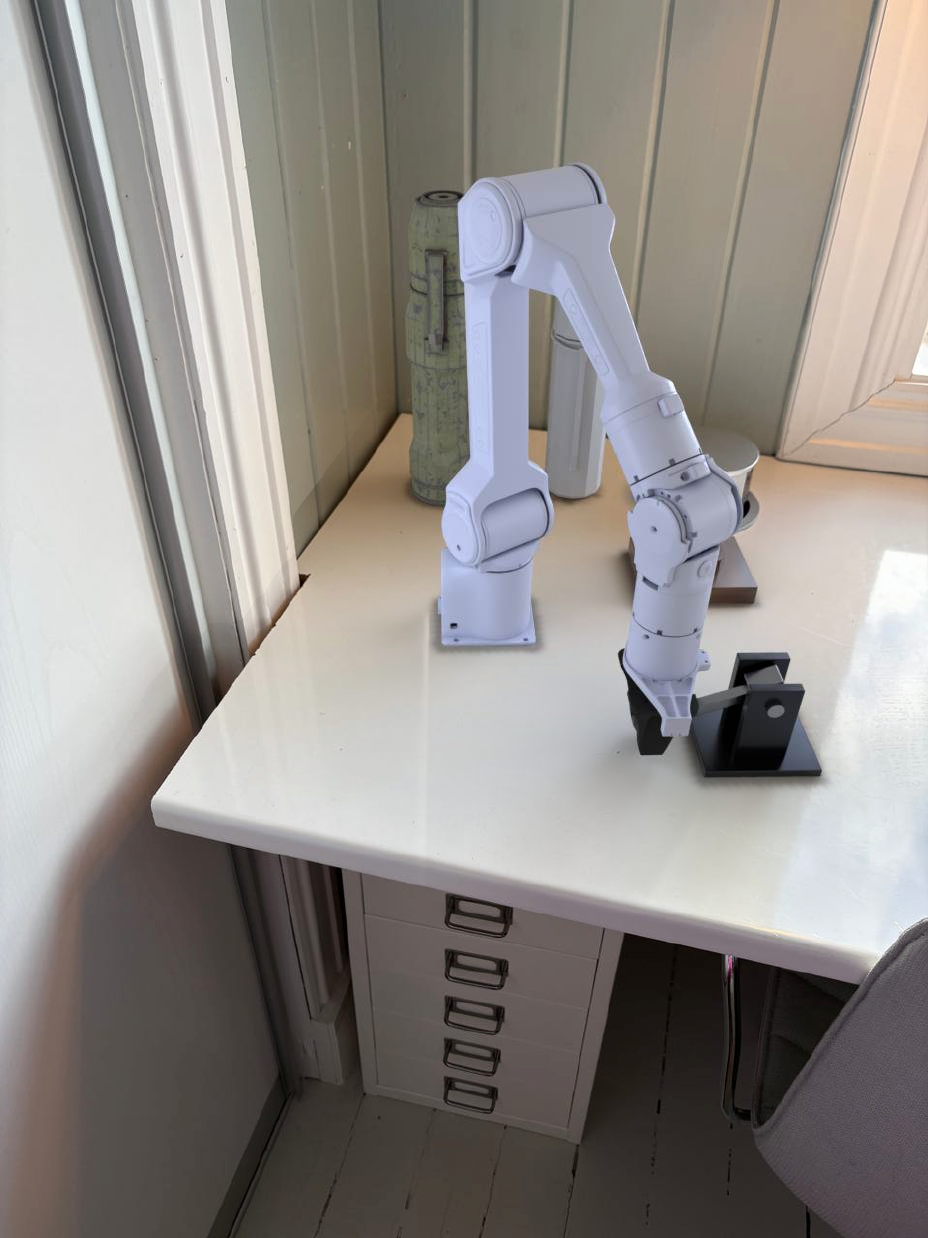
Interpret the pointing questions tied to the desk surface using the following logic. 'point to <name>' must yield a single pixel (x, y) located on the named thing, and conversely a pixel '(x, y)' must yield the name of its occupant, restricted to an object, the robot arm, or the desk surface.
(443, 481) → the thermos
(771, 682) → the lever
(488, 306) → the robot arm
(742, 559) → the control block
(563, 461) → the water bottle
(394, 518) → the desk surface
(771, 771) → the bracket
